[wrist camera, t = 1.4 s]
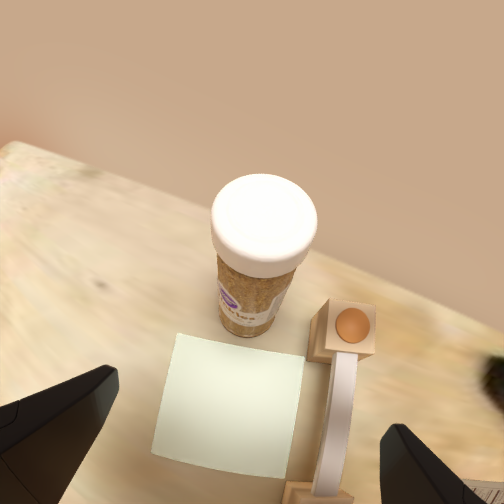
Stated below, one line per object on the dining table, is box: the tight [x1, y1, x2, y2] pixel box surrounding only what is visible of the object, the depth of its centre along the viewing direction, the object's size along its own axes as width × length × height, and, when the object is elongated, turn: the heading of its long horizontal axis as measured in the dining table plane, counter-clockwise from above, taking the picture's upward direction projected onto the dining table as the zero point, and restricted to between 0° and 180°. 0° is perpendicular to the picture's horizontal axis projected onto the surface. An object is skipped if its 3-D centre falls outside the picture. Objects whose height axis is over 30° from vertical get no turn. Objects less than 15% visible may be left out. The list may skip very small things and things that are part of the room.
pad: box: [151, 333, 305, 479], centre depth 20 cm, size 10×10×1 cm
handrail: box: [281, 298, 376, 504], centre depth 17 cm, size 17×4×5 cm, turn 170°
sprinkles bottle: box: [211, 174, 317, 338], centre depth 18 cm, size 5×5×13 cm
